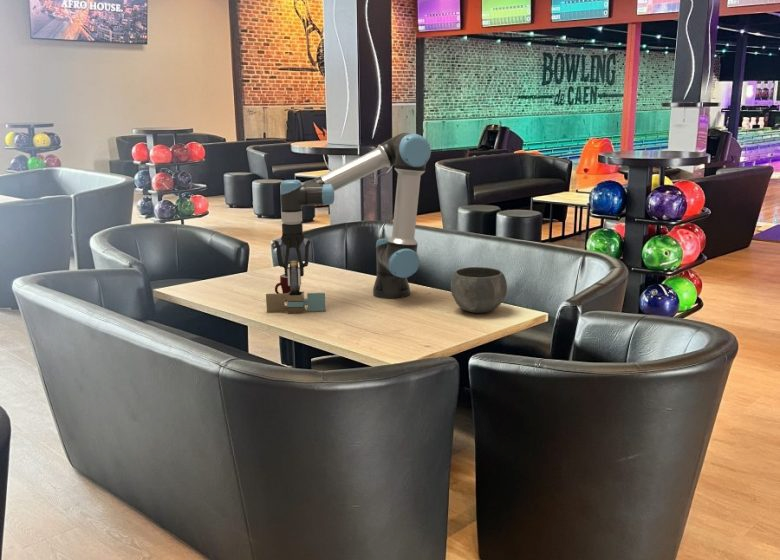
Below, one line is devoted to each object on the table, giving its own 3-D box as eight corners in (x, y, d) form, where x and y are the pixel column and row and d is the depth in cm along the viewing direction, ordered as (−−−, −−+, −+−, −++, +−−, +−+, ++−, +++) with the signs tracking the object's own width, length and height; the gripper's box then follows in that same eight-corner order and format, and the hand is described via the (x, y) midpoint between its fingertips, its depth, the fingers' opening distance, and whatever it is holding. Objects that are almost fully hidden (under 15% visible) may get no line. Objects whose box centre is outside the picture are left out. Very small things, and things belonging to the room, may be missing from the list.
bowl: (441, 307, 293) (441, 268, 290) (489, 301, 300) (490, 263, 297) (465, 321, 274) (465, 280, 271) (516, 314, 282) (517, 274, 278)
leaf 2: (287, 313, 288) (286, 295, 287) (289, 308, 294) (288, 291, 292) (324, 312, 288) (324, 294, 287) (326, 308, 294) (325, 291, 292)
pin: (300, 297, 292) (298, 260, 288) (299, 299, 288) (297, 262, 285) (291, 297, 292) (289, 260, 288) (290, 299, 288) (288, 262, 285)
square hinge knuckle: (304, 309, 294) (304, 291, 292) (303, 313, 288) (302, 295, 287) (268, 310, 294) (267, 292, 292) (266, 314, 288) (264, 296, 287)
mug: (281, 304, 302) (279, 279, 299) (272, 300, 308) (270, 275, 306) (305, 300, 307) (304, 275, 305) (296, 296, 314) (294, 272, 312)
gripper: (315, 220, 287) (317, 282, 292) (271, 221, 287) (274, 282, 292) (313, 223, 280) (315, 286, 285) (268, 224, 280) (271, 287, 285)
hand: (294, 284), depth 289 cm, fingers closed on pin, 3 cm apart
